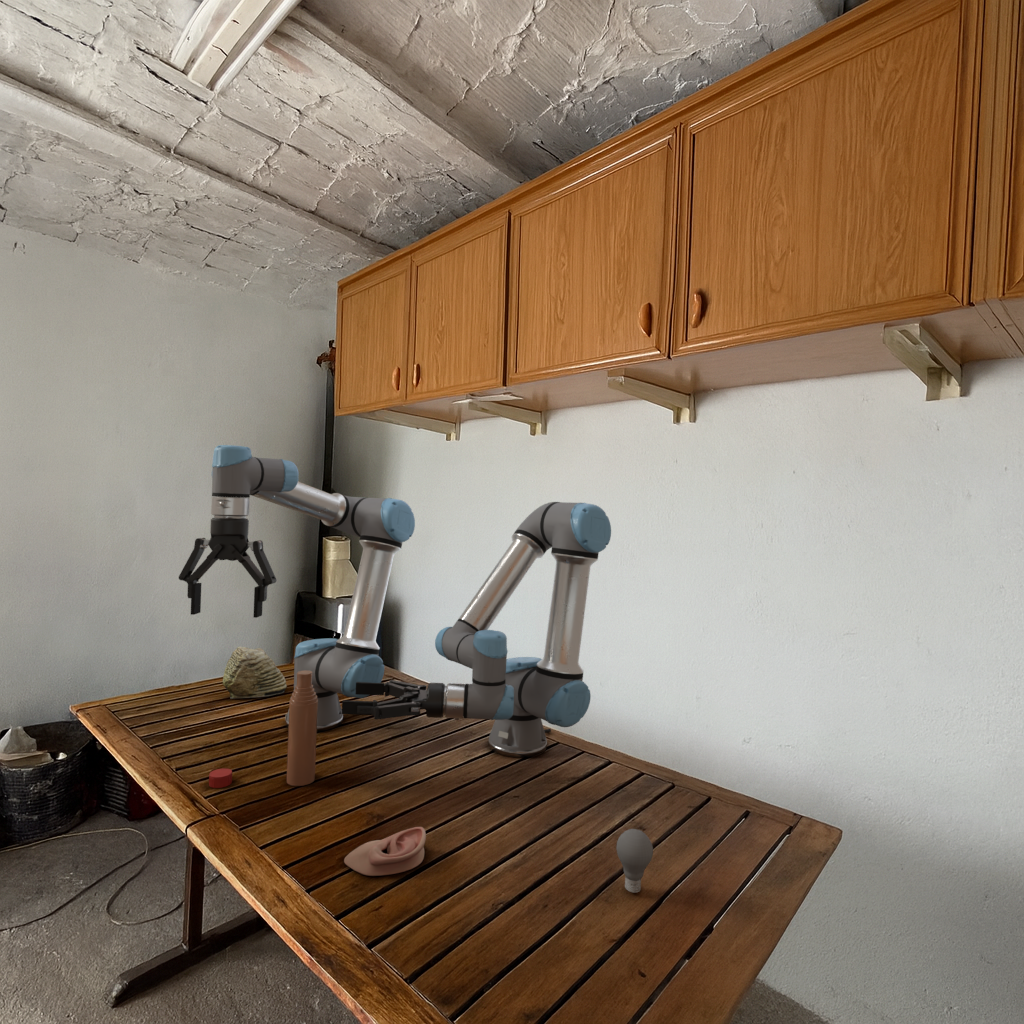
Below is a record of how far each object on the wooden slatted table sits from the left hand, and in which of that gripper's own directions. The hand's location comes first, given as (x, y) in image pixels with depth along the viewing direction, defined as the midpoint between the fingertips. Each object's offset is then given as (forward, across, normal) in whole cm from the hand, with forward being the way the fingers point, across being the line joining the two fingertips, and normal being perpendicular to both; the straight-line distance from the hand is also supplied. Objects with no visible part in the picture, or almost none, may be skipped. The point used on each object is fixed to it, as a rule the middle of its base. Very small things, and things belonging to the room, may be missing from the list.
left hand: (226, 615), depth 137 cm
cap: (+35, 0, 0) cm, 35 cm away
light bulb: (+37, +84, -31) cm, 97 cm away
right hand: (+18, +26, +4) cm, 32 cm away
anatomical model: (+37, +42, -25) cm, 61 cm away
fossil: (+37, -18, +60) cm, 73 cm away
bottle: (+37, +16, +4) cm, 40 cm away
